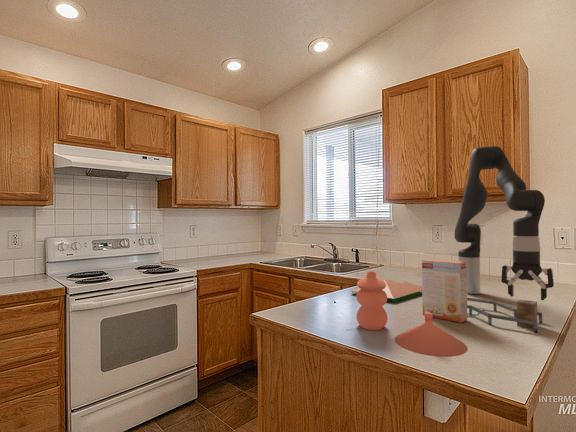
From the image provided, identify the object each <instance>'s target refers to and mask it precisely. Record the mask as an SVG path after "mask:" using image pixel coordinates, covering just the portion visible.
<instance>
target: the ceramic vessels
mask: <svg viewBox="0 0 576 432" xmlns="http://www.w3.org/2000/svg"><path fill="white" fill-rule="evenodd" d="M357 287H358V288H360V289H361V290H359V291H358V292H356V295H355V297H356V301H357V303H358V304H359V305H361V306H359V308H358V310H357V312H356V321H357V324H358V325H359V326H360V327H361V328H363V330H364V329H365V330H369V331H370V330H371V331H379V330H382V329H383V328H384V327H385V326H386V325H387V323H388V319H389V318H388V314H387V310H385V308H384V305H386V303H387V302H388V298H387V294H386V293H385V291H383V289H385V287H386V283H385V282H384V280H383V279H382V278H379V277H377V271H371V270H369V271H366V277H362V278H360V279H359V280H357ZM433 318H434V317H433V315H432V313H429V312H426V313H425V315H424V323H421V324H419V325H417V326H415V327H412V328H410V329H408V330H406V331H403V332H402V333H400V334H397V335H396V336H394V340H393V341H394V342H395V344H396V345H398V346H399V347H401V348H403V349H404V350H407V351H410V352H412V353H415V354H420V355H424V356H430V357H439V358H441V357H442V358H446V357H447V358H448V357H449V358H450V357H458V356H461V355H462V356H463V355H465V354H466V353H467V352H468V349H469V348H468V346H467V345H466V343H464V342H462V341H461V340H460V339H458V338H456V337H455V336H453V335H452V334H450V333H448V332H447V331H446V330H443V329H442V328H440V327H439V326H437V325H435V324H434V323H433Z"/></svg>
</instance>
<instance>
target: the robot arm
mask: <svg viewBox="0 0 576 432" xmlns="http://www.w3.org/2000/svg"><path fill="white" fill-rule="evenodd" d="M469 159H470V160H469V165H468V167H469V168H468V174H467V175H468V176H467V180H466V185H465V189H464V194H463V196H462V197H463V198H462V201H461V202H462V203H461V208H460V212H459V216H458V218H457V221H456V225H455V228H454V239H455V241H456V242H457V243H462V244H463V243H465V244H466V243H468V244H469V243H470V245H468V246H467V247H466V248H463V249H462V248H461V249H460V250H458V253H457V254H458V255H457V257H458V261H462V262H466V275H467V294H469V295H479V294H481V238H482V237H481V233H482V232H481V231H482V230H481V226H480V225H479V224H478V223H469V222H470V221H471V220H472V219H474V218H475V217H476V216H477V215H478V214H480V213H481V212H482V210H484V208H485V206H486V203H487V199H488V194H489V193H488V190H487V188H486V186H485V185H484V183H483V182H482V180H481V177H480V173H481V171H484V170H493V169H497V170H498V171H497V173H496V177H495V182H496V185H497V186H498V187H499V189H500V190H501V191H502V193H503V194H504V198H505V203H506V206H507V207H508V209H510V210H512V211H514V212H527V213H526V215H525V216H524V217H520V218H516V219H514V220H513V222H512V223H513V224H512V227H513V229H512V232H513V238H512V266H509V265H508V264H504V265H502V266H501V283H502V284H506V285H507V294H508V295H509V296H510V297H512V298H513V297H514V295H515V293H514V292H515V290H514V287H515V286H514V283H515V282H516V281H517V280H518V279H519V280H521V281H526V280H527V281H535V282H536V283H537V284H538V285H539V286H540V287H541V288H540V301H545V299H547V296H548V292H547V290H548V289H550V288H553V287H554V285H555V284H554V283H555V282H554V274H553V273H554V272H553V268H552V267H548V268H542V267H541V244H540V243H541V242H540V237H539V236H540V234H539V233H540V232H539V231H540V230H539V225H540V220H541V217H542V213H543V210H544V207H545V201H546V199H545V196H544V194H543V192H541V190H538V189H527V185H526V183H525V181H524V180H523V179H522V177H520V176H519V175H518V174H517V173H516V172H515V170H514V169H513V167H512V165H511V163H510V161H509V159H508V157H507V155H506V154H505V152H504V150H503V149H502V148H501V146H498V145H487V146H480V147H475V148H474V149H472V152H471V155H470V158H469ZM510 271H512V272H513V273H514V275H513V276H512V277H511V279H508V273H509V272H510ZM542 273H543V274H544V275H545V276H547V283H545V282H544V280H543V279H542V277H540V275H541V274H542Z"/></svg>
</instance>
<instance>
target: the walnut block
mask: <svg viewBox="0 0 576 432" xmlns="http://www.w3.org/2000/svg"><path fill="white" fill-rule="evenodd" d="M516 309H517V318H520V319H526V320H532V321H537V322H538V315H537V312H538V301H534V300H526V299H518V300H517V302H516ZM516 326H517V327H520V328H526V329H532V330H534V325H533V324H527V323H520V322H516Z"/></svg>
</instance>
